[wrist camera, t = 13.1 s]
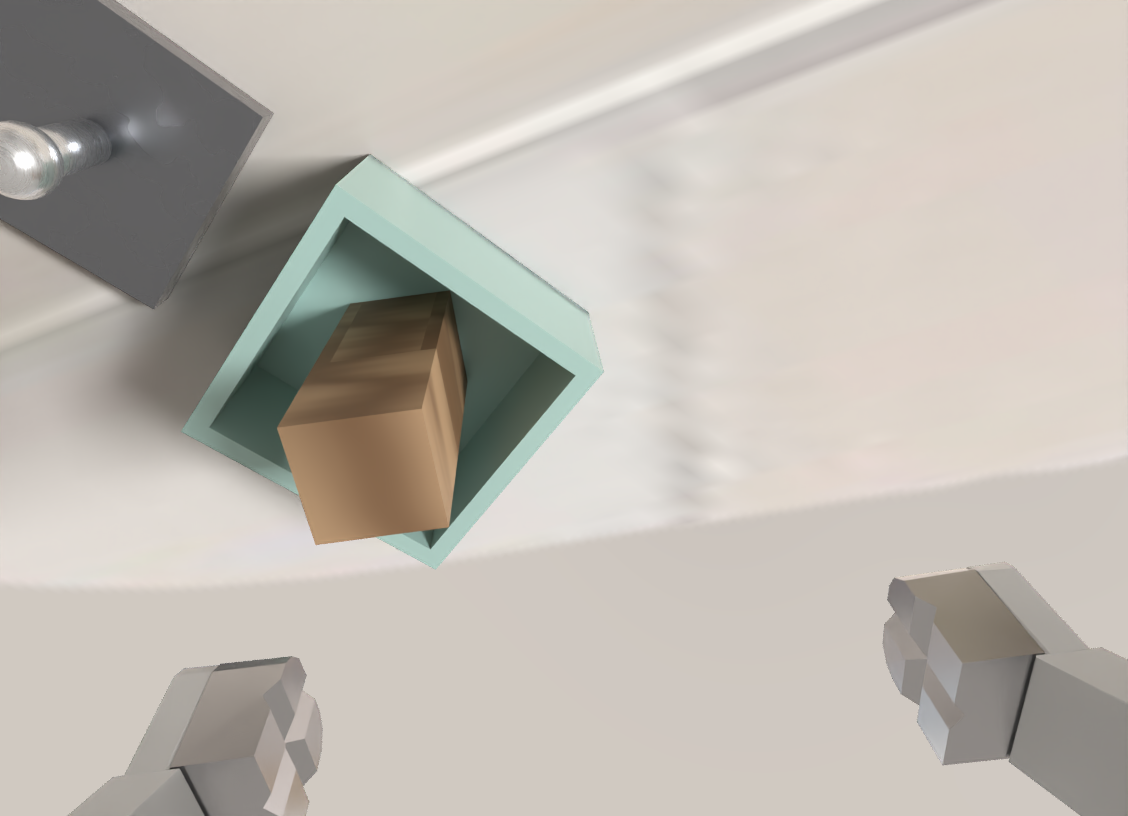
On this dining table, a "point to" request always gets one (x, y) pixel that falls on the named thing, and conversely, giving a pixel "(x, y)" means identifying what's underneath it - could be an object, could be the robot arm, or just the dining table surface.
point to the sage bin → (395, 269)
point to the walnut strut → (380, 421)
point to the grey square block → (115, 140)
